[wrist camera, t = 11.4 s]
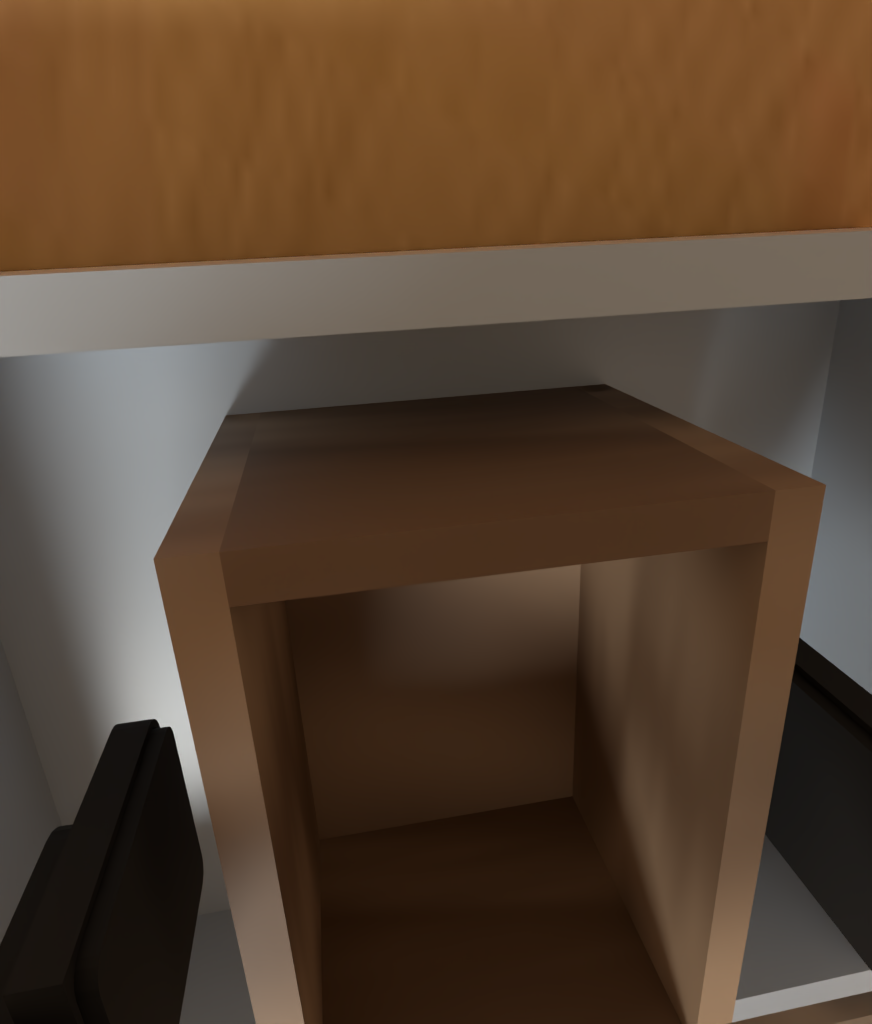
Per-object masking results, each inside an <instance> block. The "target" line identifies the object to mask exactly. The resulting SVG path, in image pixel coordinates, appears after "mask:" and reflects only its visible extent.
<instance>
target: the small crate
mask: <svg viewBox="0 0 872 1024" xmlns="http://www.w3.org/2000/svg"><path fill="white" fill-rule="evenodd" d="M825 489H826V485H825V484H823V483H821V482H819V481H817V480H814V479H812V478H810V477H808V476H806V475H803V474H801V473H799V472H797V471H795V470H792V469H790V468H788V467H786V466H784V465H781V464H779V463H777V462H775V461H773V460H771V459H768V458H766V457H764V456H762V455H760V454H757V453H755V452H753V451H751V450H749V449H746V448H744V447H742V446H740V445H738V444H735V443H733V442H731V441H729V440H727V439H725V438H722V437H720V436H718V435H716V434H714V433H711V432H709V431H707V430H705V429H703V428H700V427H698V426H696V425H694V424H692V423H690V422H687V421H685V420H683V419H681V418H679V417H676V416H674V415H672V414H670V413H668V412H665V411H663V410H661V409H659V408H657V407H654V406H652V405H650V404H648V403H646V402H644V401H641V400H639V399H637V398H635V397H633V396H630V395H628V394H626V393H624V392H622V391H619V390H617V389H615V388H613V387H611V386H608V385H606V384H599V385H587V386H575V387H562V388H550V389H538V390H526V391H514V392H502V393H490V394H478V395H466V396H454V397H442V398H430V399H418V400H405V401H393V402H381V403H369V404H357V405H345V406H333V407H321V408H309V409H297V410H285V411H273V412H261V413H248V414H236V415H226V416H225V418H224V420H223V422H222V424H221V426H220V428H219V430H218V432H217V434H216V436H215V438H214V440H213V442H212V444H211V446H210V448H209V450H208V452H207V454H206V456H205V458H204V460H203V462H202V464H201V466H200V468H199V470H198V472H197V474H196V476H195V477H194V479H193V481H192V483H191V485H190V487H189V489H188V491H187V493H186V495H185V497H184V499H183V501H182V503H181V505H180V507H179V509H178V511H177V513H176V515H175V517H174V519H173V521H172V523H171V525H170V527H169V529H168V531H167V533H166V535H165V537H164V539H163V541H162V543H161V545H160V547H159V549H158V551H157V553H156V555H155V557H154V559H153V560H154V565H155V569H156V574H157V578H158V583H159V587H160V592H161V596H162V601H163V606H164V610H165V615H166V619H167V624H168V628H169V633H170V637H171V642H172V646H173V651H174V655H175V660H176V664H177V669H178V673H179V678H180V682H181V687H182V691H183V696H184V701H185V705H186V710H187V714H188V719H189V723H190V728H191V732H192V737H193V741H194V746H195V750H196V755H197V759H198V764H199V768H200V773H201V777H202V782H203V786H204V791H205V796H206V800H207V805H208V809H209V814H210V818H211V823H212V827H213V832H214V836H215V841H216V845H217V850H218V854H219V859H220V863H221V868H222V872H223V877H224V881H225V886H226V891H227V895H228V900H229V904H230V909H231V913H232V918H233V922H234V927H235V931H236V936H237V940H238V945H239V949H240V954H241V958H242V963H243V967H244V972H245V976H246V981H247V986H248V990H249V995H250V999H251V1004H252V1008H253V1013H254V1017H255V1022H256V1024H728V1023H732V1019H733V1013H734V1007H735V1002H736V996H737V990H738V985H739V979H740V973H741V967H742V962H743V956H744V950H745V945H746V939H747V933H748V928H749V922H750V916H751V910H752V905H753V899H754V893H755V888H756V882H757V876H758V871H759V865H760V859H761V854H762V848H763V842H764V836H765V831H766V825H767V819H768V814H769V808H770V802H771V797H772V791H773V785H774V779H775V774H776V768H777V762H778V757H779V751H780V745H781V740H782V734H783V728H784V723H785V717H786V711H787V705H788V700H789V694H790V688H791V683H792V677H793V671H794V666H795V660H796V654H797V648H798V643H799V637H800V631H801V626H802V620H803V614H804V609H805V603H806V597H807V592H808V586H809V580H810V574H811V569H812V563H813V557H814V552H815V546H816V540H817V535H818V529H819V523H820V517H821V512H822V506H823V500H824V495H825Z"/></svg>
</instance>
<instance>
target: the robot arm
mask: <svg viewBox="0 0 872 1024" xmlns="http://www.w3.org/2000/svg"><path fill="white" fill-rule="evenodd" d="M765 835H766V836H767V838H768V839H769V840H770V841H771V843H772V844H773V845H774V847H775V848H776V849H777V850H778V852H779V853H780V854H781V856H782V857H783V858H784V859H785V861H786V862H787V863H788V865H789V866H790V867H791V868H792V870H793V871H794V872H795V874H796V875H797V876H798V877H799V879H800V880H801V881H802V883H803V884H804V885H805V886H806V888H807V889H808V890H809V892H810V893H811V894H812V895H813V897H814V898H815V899H816V901H817V902H818V903H819V904H820V906H821V907H822V908H823V910H824V911H825V912H826V913H827V915H828V916H829V917H830V919H831V920H832V921H833V922H834V924H835V925H836V926H837V928H838V929H839V930H840V931H841V933H842V934H843V935H844V937H845V938H846V939H847V940H848V942H849V943H850V944H851V946H852V947H853V948H854V949H855V951H856V952H857V953H858V955H859V956H860V957H861V958H862V960H863V961H864V962H865V964H866V965H867V966H868V967H869V969H870V970H871V971H872V694H870V693H869V692H868V691H867V690H865V689H864V688H863V687H861V686H860V685H859V684H858V683H856V682H855V681H854V680H853V679H851V678H850V677H849V676H848V675H846V674H845V673H844V672H843V671H841V670H840V669H839V668H837V667H836V666H835V665H834V664H832V663H831V662H830V661H829V660H827V659H826V658H825V657H824V656H822V655H821V654H820V653H819V652H817V651H816V650H815V649H814V648H812V647H811V646H810V645H808V644H807V643H806V642H805V641H803V640H802V639H801V638H800V637H799V643H798V648H797V654H796V660H795V666H794V671H793V677H792V683H791V688H790V694H789V700H788V705H787V711H786V717H785V723H784V728H783V734H782V740H781V745H780V751H779V757H778V762H777V768H776V774H775V779H774V785H773V791H772V797H771V802H770V808H769V814H768V819H767V825H766V831H765ZM203 875H204V869H203V858H202V853H201V849H200V844H199V840H198V836H197V831H196V827H195V823H194V819H193V814H192V810H191V806H190V801H189V797H188V793H187V789H186V784H185V780H184V776H183V771H182V767H181V763H180V759H179V754H178V750H177V746H176V741H175V737H174V733H173V730H172V728H171V727H162V728H160V725H159V723H158V721H157V720H156V719H149V720H142V721H135V722H128V723H121V724H116V725H115V726H114V727H113V729H112V730H111V733H110V735H109V737H108V740H107V742H106V745H105V747H104V750H103V752H102V754H101V757H100V759H99V762H98V764H97V767H96V769H95V771H94V774H93V776H92V779H91V781H90V784H89V786H88V788H87V791H86V793H85V796H84V798H83V801H82V803H81V805H80V808H79V810H78V813H77V815H76V818H75V820H74V822H73V824H71V825H65V826H59V827H57V828H56V829H54V830H53V831H52V832H51V834H50V836H49V837H48V839H47V841H46V843H45V845H44V847H43V850H42V852H41V854H40V856H39V859H38V861H37V863H36V865H35V868H34V870H33V872H32V874H31V877H30V879H29V881H28V883H27V886H26V888H25V890H24V892H23V895H22V897H21V899H20V901H19V904H18V906H17V908H16V910H15V912H14V915H13V917H12V919H11V921H10V924H9V926H8V928H7V930H6V933H5V935H4V937H3V939H2V942H1V944H0V1024H179V1022H180V1017H181V1011H182V1005H183V999H184V993H185V987H186V981H187V975H188V969H189V963H190V957H191V951H192V945H193V939H194V933H195V927H196V921H197V915H198V910H199V904H200V898H201V892H202V886H203ZM728 1024H872V991H870V992H866V993H861V994H857V995H852V996H848V997H843V998H839V999H834V1000H830V1001H825V1002H821V1003H816V1004H812V1005H807V1006H803V1007H798V1008H794V1009H790V1010H785V1011H781V1012H776V1013H772V1014H767V1015H763V1016H758V1017H754V1018H750V1019H745V1020H741V1021H737V1022H732V1023H728Z"/></svg>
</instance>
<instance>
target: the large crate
mask: <svg viewBox="0 0 872 1024" xmlns="http://www.w3.org/2000/svg"><path fill="white" fill-rule="evenodd" d="M599 384H606V385H608V386H611V387H613V388H615V389H617V390H619V391H622V392H624V393H626V394H628V395H630V396H633V397H635V398H637V399H639V400H641V401H644V402H646V403H648V404H650V405H652V406H654V407H657V408H659V409H661V410H663V411H665V412H668V413H670V414H672V415H674V416H676V417H679V418H681V419H683V420H685V421H687V422H690V423H692V424H694V425H696V426H698V427H700V428H703V429H705V430H707V431H709V432H711V433H714V434H716V435H718V436H720V437H722V438H725V439H727V440H729V441H731V442H733V443H735V444H738V445H740V446H742V447H744V448H746V449H749V450H751V451H753V452H755V453H757V454H760V455H762V456H764V457H766V458H768V459H771V460H773V461H775V462H777V463H779V464H781V465H784V466H786V467H788V468H790V469H792V470H795V471H797V472H799V473H801V474H803V475H806V476H808V477H810V478H812V479H814V480H817V481H819V482H821V483H823V484H825V485H826V489H825V495H824V500H823V506H822V512H821V517H820V523H819V529H818V535H817V540H816V546H815V552H814V557H813V563H812V569H811V574H810V580H809V586H808V592H807V597H806V603H805V609H804V614H803V620H802V626H801V631H800V638H801V639H802V640H803V641H805V642H806V643H807V644H808V645H810V646H811V647H812V648H814V649H815V650H816V651H817V652H819V653H820V654H821V655H822V656H824V657H825V658H826V659H827V660H829V661H830V662H831V663H832V664H834V665H835V666H836V667H837V668H839V669H840V670H841V671H843V672H844V673H845V674H846V675H848V676H849V677H850V678H851V679H853V680H854V681H855V682H856V683H858V684H859V685H860V686H861V687H863V688H864V689H865V690H867V691H868V692H869V693H870V694H872V227H861V228H841V229H821V230H802V231H782V232H763V233H743V234H724V235H704V236H685V237H665V238H646V239H627V240H607V241H588V242H568V243H549V244H529V245H510V246H490V247H471V248H451V249H432V250H412V251H393V252H373V253H354V254H334V255H315V256H296V257H276V258H257V259H237V260H218V261H198V262H179V263H159V264H140V265H120V266H101V267H81V268H62V269H42V270H23V271H3V272H0V944H1V942H2V939H3V937H4V935H5V933H6V930H7V928H8V926H9V924H10V921H11V919H12V917H13V915H14V912H15V910H16V908H17V906H18V904H19V901H20V899H21V897H22V895H23V892H24V890H25V888H26V886H27V883H28V881H29V879H30V877H31V874H32V872H33V870H34V868H35V865H36V863H37V861H38V859H39V856H40V854H41V852H42V850H43V847H44V845H45V843H46V841H47V839H48V837H49V836H50V834H51V832H52V831H53V830H54V829H56V828H57V827H59V826H65V825H71V824H73V822H74V820H75V818H76V815H77V813H78V810H79V808H80V805H81V803H82V801H83V798H84V796H85V793H86V791H87V788H88V786H89V784H90V781H91V779H92V776H93V774H94V771H95V769H96V767H97V764H98V762H99V759H100V757H101V754H102V752H103V750H104V747H105V745H106V742H107V740H108V737H109V735H110V733H111V730H112V729H113V727H114V726H115V725H116V724H121V723H128V722H135V721H142V720H149V719H156V720H157V721H158V723H159V725H160V728H162V727H171V728H172V730H173V733H174V737H175V741H176V746H177V750H178V754H179V759H180V763H181V767H182V771H183V776H184V780H185V784H186V789H187V793H188V797H189V801H190V806H191V810H192V814H193V819H194V823H195V827H196V831H197V836H198V840H199V844H200V849H201V853H202V858H203V869H204V875H203V886H202V892H201V898H200V904H199V910H198V915H197V921H196V927H195V933H194V939H193V945H192V951H191V957H190V963H189V969H188V975H187V981H186V987H185V993H184V999H183V1005H182V1011H181V1017H180V1022H179V1024H256V1022H255V1017H254V1013H253V1008H252V1004H251V999H250V995H249V990H248V986H247V981H246V976H245V972H244V967H243V963H242V958H241V954H240V949H239V945H238V940H237V936H236V931H235V927H234V922H233V918H232V913H231V909H230V904H229V900H228V895H227V891H226V886H225V881H224V877H223V872H222V868H221V863H220V859H219V854H218V850H217V845H216V841H215V836H214V832H213V827H212V823H211V818H210V814H209V809H208V805H207V800H206V796H205V791H204V786H203V782H202V777H201V773H200V768H199V764H198V759H197V755H196V750H195V746H194V741H193V737H192V732H191V728H190V723H189V719H188V714H187V710H186V705H185V701H184V696H183V691H182V687H181V682H180V678H179V673H178V669H177V664H176V660H175V655H174V651H173V646H172V642H171V637H170V633H169V628H168V624H167V619H166V615H165V610H164V606H163V601H162V596H161V592H160V587H159V583H158V578H157V574H156V569H155V565H154V560H153V559H154V557H155V555H156V553H157V551H158V549H159V547H160V545H161V543H162V541H163V539H164V537H165V535H166V533H167V531H168V529H169V527H170V525H171V523H172V521H173V519H174V517H175V515H176V513H177V511H178V509H179V507H180V505H181V503H182V501H183V499H184V497H185V495H186V493H187V491H188V489H189V487H190V485H191V483H192V481H193V479H194V477H195V476H196V474H197V472H198V470H199V468H200V466H201V464H202V462H203V460H204V458H205V456H206V454H207V452H208V450H209V448H210V446H211V444H212V442H213V440H214V438H215V436H216V434H217V432H218V430H219V428H220V426H221V424H222V422H223V420H224V418H225V416H226V415H236V414H248V413H261V412H273V411H285V410H297V409H309V408H321V407H333V406H345V405H357V404H369V403H381V402H393V401H405V400H418V399H430V398H442V397H454V396H466V395H478V394H490V393H502V392H514V391H526V390H538V389H550V388H562V387H575V386H587V385H599ZM870 991H872V971H871V970H870V969H869V967H868V966H867V965H866V964H865V962H864V961H863V960H862V958H861V957H860V956H859V955H858V953H857V952H856V951H855V949H854V948H853V947H852V946H851V944H850V943H849V942H848V940H847V939H846V938H845V937H844V935H843V934H842V933H841V931H840V930H839V929H838V928H837V926H836V925H835V924H834V922H833V921H832V920H831V919H830V917H829V916H828V915H827V913H826V912H825V911H824V910H823V908H822V907H821V906H820V904H819V903H818V902H817V901H816V899H815V898H814V897H813V895H812V894H811V893H810V892H809V890H808V889H807V888H806V886H805V885H804V884H803V883H802V881H801V880H800V879H799V877H798V876H797V875H796V874H795V872H794V871H793V870H792V868H791V867H790V866H789V865H788V863H787V862H786V861H785V859H784V858H783V857H782V856H781V854H780V853H779V852H778V850H777V849H776V848H775V847H774V845H773V844H772V843H771V841H770V840H769V839H768V838H767V836H766V835H765V836H764V842H763V848H762V854H761V859H760V865H759V871H758V876H757V882H756V888H755V893H754V899H753V905H752V910H751V916H750V922H749V928H748V933H747V939H746V945H745V950H744V956H743V962H742V967H741V973H740V979H739V985H738V990H737V996H736V1002H735V1007H734V1013H733V1019H732V1022H737V1021H741V1020H745V1019H750V1018H754V1017H758V1016H763V1015H767V1014H772V1013H776V1012H781V1011H785V1010H790V1009H794V1008H798V1007H803V1006H807V1005H812V1004H816V1003H821V1002H825V1001H830V1000H834V999H839V998H843V997H848V996H852V995H857V994H861V993H866V992H870Z"/></svg>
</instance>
